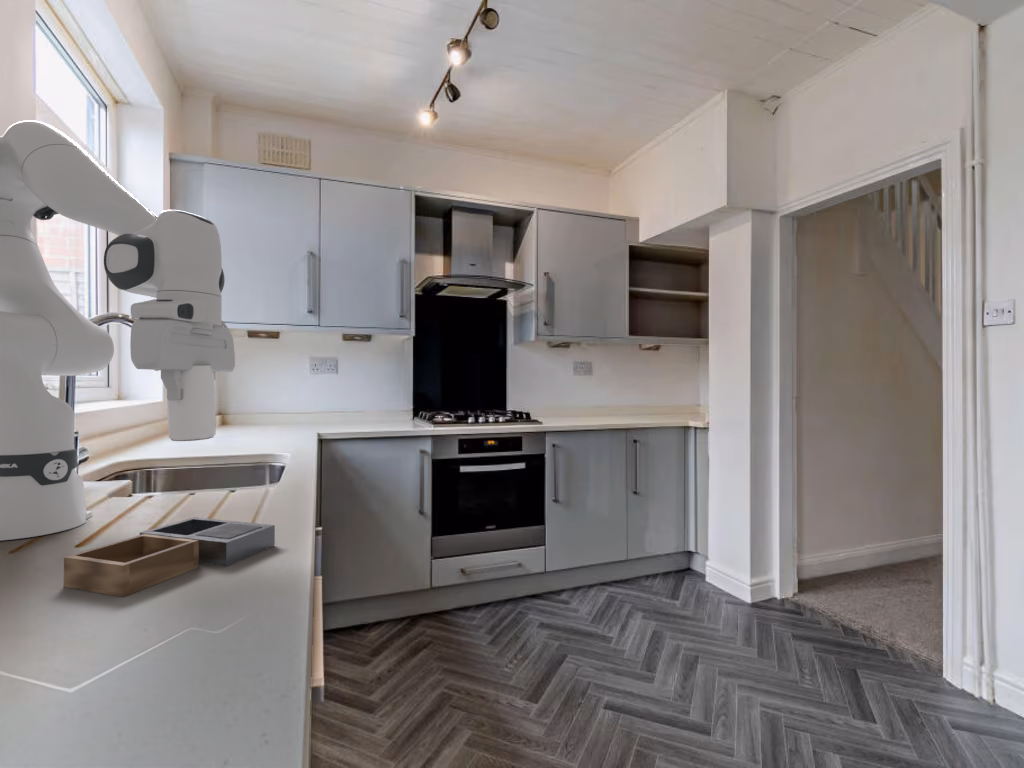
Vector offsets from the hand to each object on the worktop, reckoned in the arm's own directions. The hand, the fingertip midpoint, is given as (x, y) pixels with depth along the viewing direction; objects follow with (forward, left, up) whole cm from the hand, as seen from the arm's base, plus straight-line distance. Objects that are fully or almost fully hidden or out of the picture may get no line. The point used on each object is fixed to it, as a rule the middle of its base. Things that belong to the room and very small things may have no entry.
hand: (189, 399), depth 81 cm
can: (0, +1, -6) cm, 7 cm away
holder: (+3, -11, -24) cm, 27 cm away
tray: (+4, 0, -24) cm, 24 cm away
